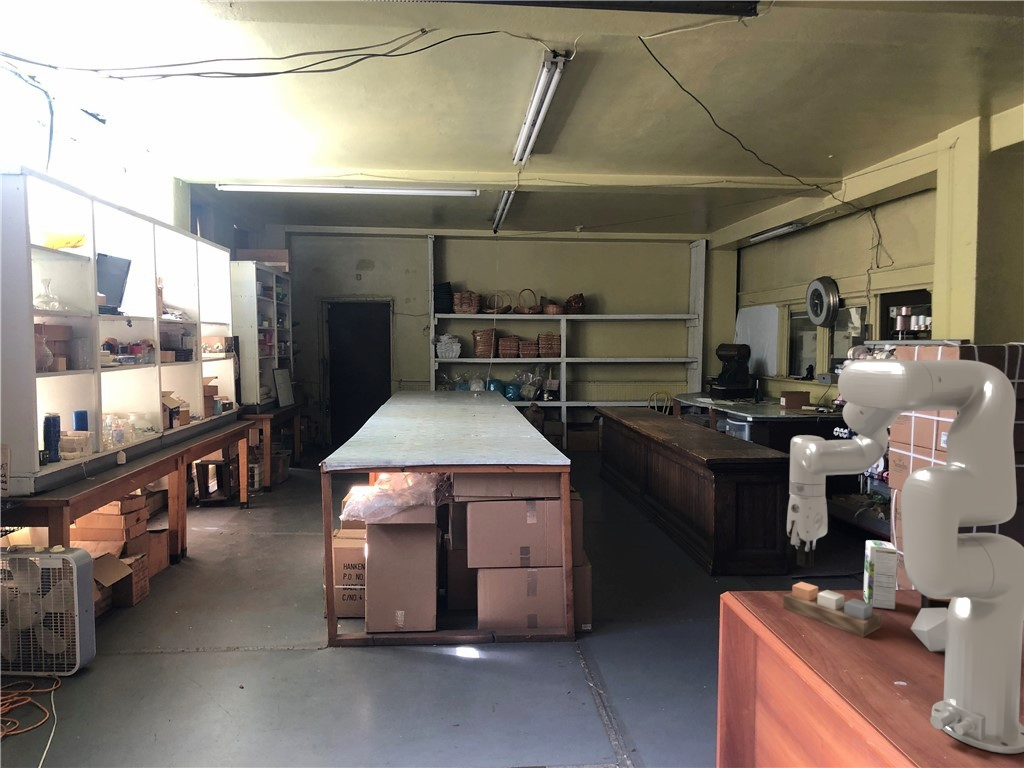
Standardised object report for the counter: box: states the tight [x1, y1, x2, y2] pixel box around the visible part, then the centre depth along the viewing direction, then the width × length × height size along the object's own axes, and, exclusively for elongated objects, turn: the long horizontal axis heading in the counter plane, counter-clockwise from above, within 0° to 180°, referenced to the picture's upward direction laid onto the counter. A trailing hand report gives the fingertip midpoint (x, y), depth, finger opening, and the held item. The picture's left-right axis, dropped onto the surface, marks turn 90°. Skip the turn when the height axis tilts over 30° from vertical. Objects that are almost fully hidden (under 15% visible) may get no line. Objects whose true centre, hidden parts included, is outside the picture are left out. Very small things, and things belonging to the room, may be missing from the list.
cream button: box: [817, 589, 845, 610], centre depth 138 cm, size 4×4×3 cm
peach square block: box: [791, 581, 819, 601], centre depth 143 cm, size 4×4×3 cm
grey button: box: [844, 597, 874, 620], centre depth 133 cm, size 4×4×3 cm
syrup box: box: [863, 539, 898, 610], centre depth 145 cm, size 6×6×14 cm
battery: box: [920, 593, 951, 609], centre depth 136 cm, size 4×7×10 cm, turn 158°
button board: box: [782, 592, 882, 638], centre depth 138 cm, size 18×8×3 cm, turn 35°
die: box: [910, 607, 948, 652], centre depth 123 cm, size 8×9×10 cm
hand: (804, 565), depth 143 cm, fingers closed
